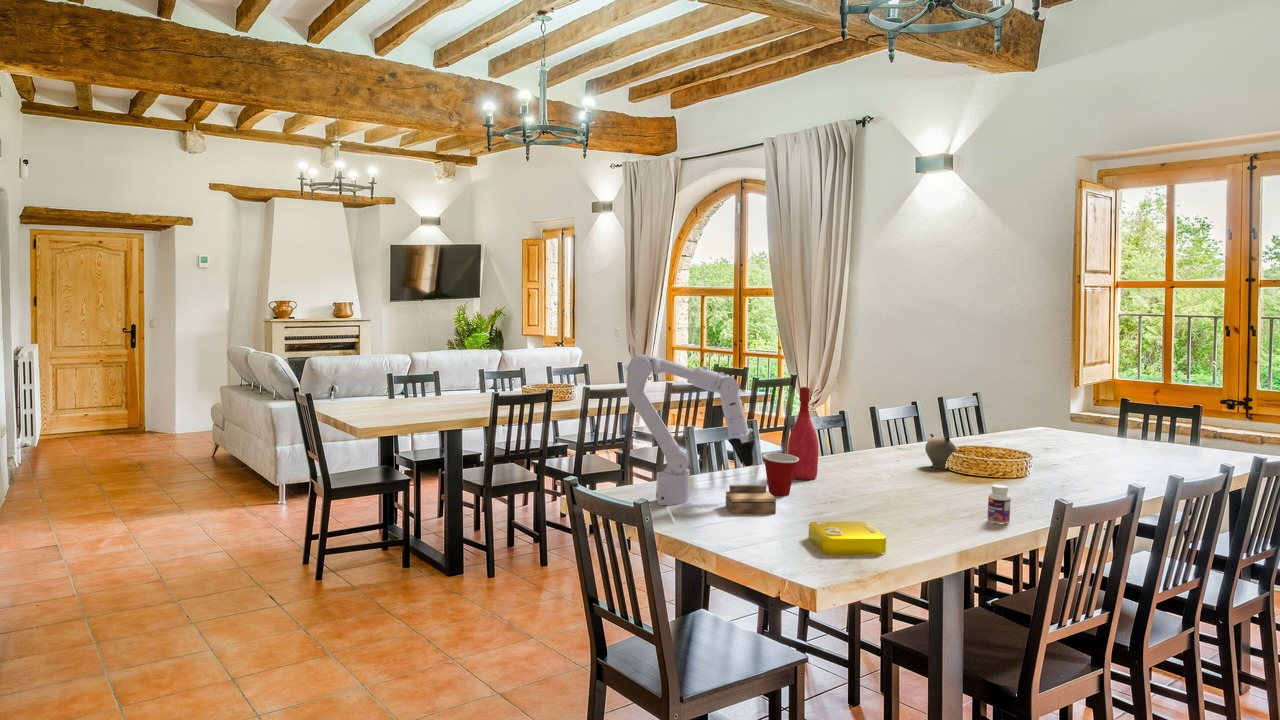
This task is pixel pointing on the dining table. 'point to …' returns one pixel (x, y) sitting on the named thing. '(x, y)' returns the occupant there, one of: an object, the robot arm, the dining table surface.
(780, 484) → the plastic cup
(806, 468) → the wine bottle
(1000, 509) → the pill bottle
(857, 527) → the element tile
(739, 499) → the lid
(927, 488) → the dining table surface
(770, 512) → the walnut box
